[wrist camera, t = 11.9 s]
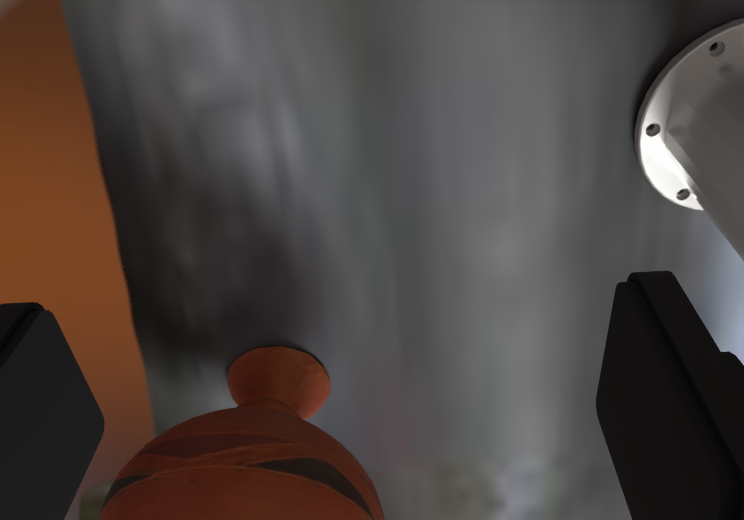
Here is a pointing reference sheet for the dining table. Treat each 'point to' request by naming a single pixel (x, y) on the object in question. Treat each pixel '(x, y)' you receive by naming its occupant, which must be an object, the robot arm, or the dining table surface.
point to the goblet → (250, 455)
